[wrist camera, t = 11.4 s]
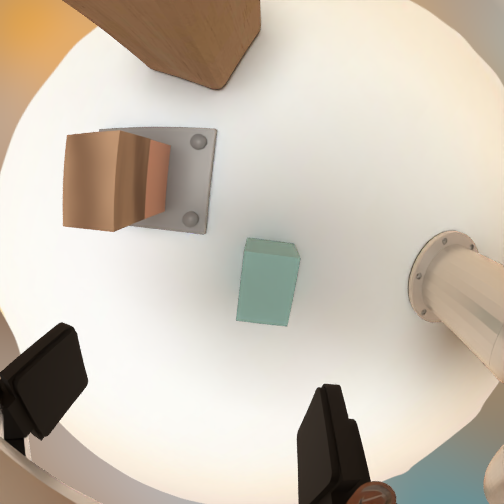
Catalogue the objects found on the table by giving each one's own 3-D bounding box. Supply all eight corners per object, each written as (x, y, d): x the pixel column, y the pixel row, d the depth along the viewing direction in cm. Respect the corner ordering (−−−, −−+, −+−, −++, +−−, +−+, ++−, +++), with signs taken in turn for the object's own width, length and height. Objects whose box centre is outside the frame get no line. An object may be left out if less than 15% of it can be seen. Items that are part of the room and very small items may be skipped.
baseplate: (217, 130, 26) (204, 117, 20) (205, 232, 29) (190, 247, 23) (103, 130, 26) (71, 123, 20) (97, 220, 29) (65, 231, 23)
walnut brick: (150, 138, 21) (119, 130, 15) (144, 219, 22) (113, 232, 17) (103, 140, 21) (67, 135, 15) (98, 215, 23) (63, 226, 17)
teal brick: (293, 243, 29) (300, 258, 24) (283, 302, 31) (287, 326, 26) (247, 237, 29) (244, 251, 24) (240, 296, 31) (236, 320, 26)
